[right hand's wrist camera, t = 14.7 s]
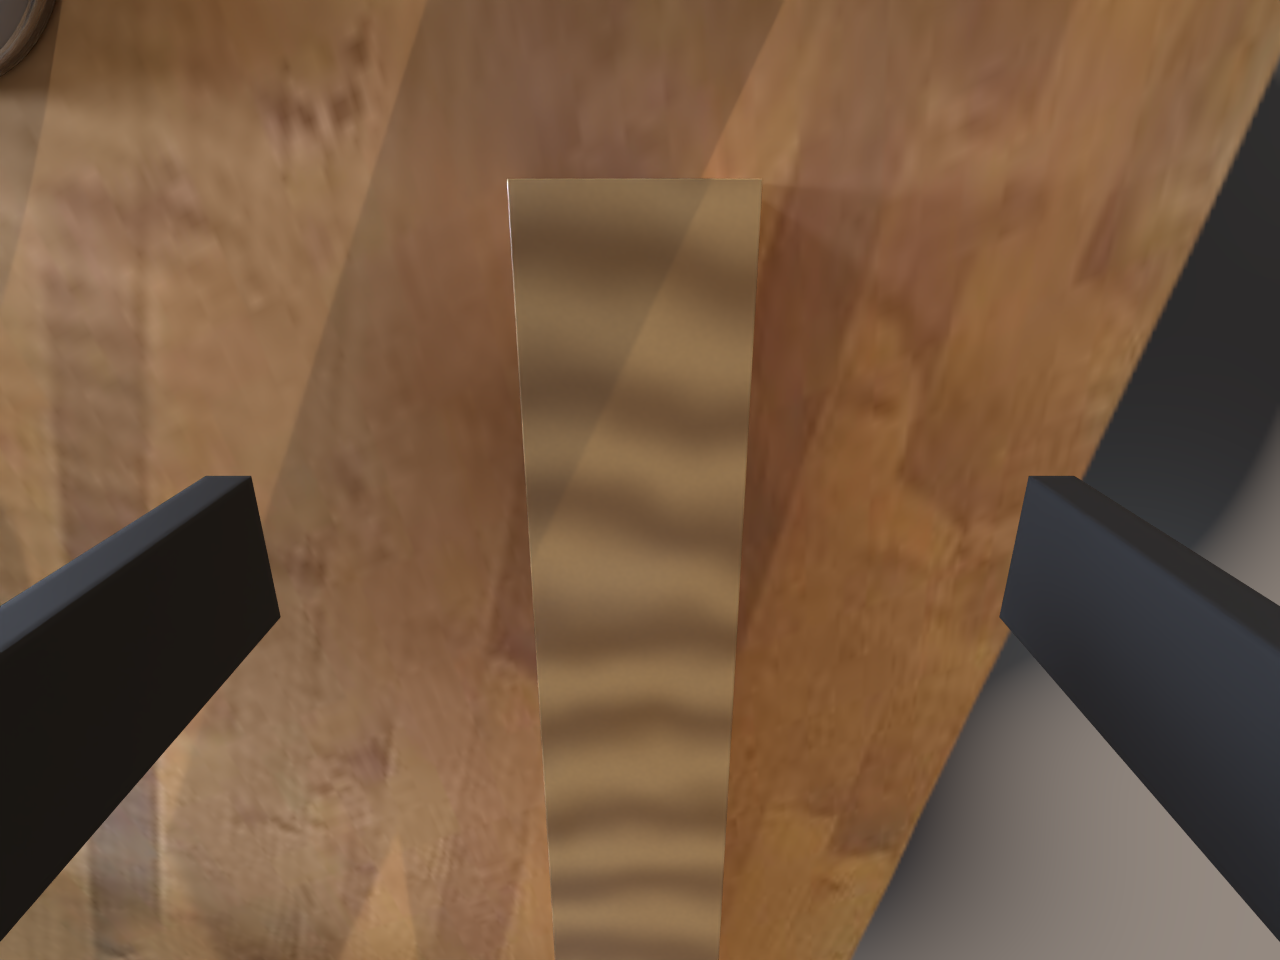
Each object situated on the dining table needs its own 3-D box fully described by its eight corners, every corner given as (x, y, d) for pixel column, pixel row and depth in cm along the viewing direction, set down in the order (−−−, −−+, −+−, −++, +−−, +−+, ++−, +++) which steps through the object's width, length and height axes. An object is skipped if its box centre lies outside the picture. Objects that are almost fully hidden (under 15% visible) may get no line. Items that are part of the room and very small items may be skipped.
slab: (530, 182, 34) (506, 178, 28) (740, 182, 34) (762, 178, 28) (575, 1055, 58) (567, 1158, 51) (700, 1055, 58) (707, 1158, 51)
